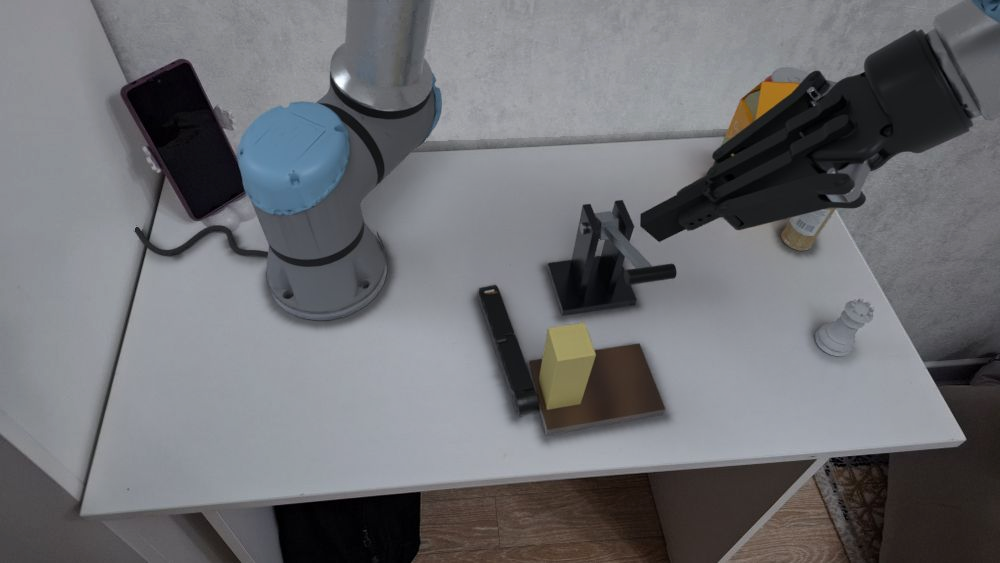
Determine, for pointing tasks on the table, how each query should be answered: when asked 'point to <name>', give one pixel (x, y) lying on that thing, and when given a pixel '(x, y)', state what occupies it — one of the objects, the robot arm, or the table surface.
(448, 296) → the table surface
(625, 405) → the board
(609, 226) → the arm
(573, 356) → the butter
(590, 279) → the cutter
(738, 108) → the orange juice
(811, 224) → the sprinkles bottle
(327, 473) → the table surface
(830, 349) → the rook chess piece
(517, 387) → the black long bar
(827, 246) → the table surface
